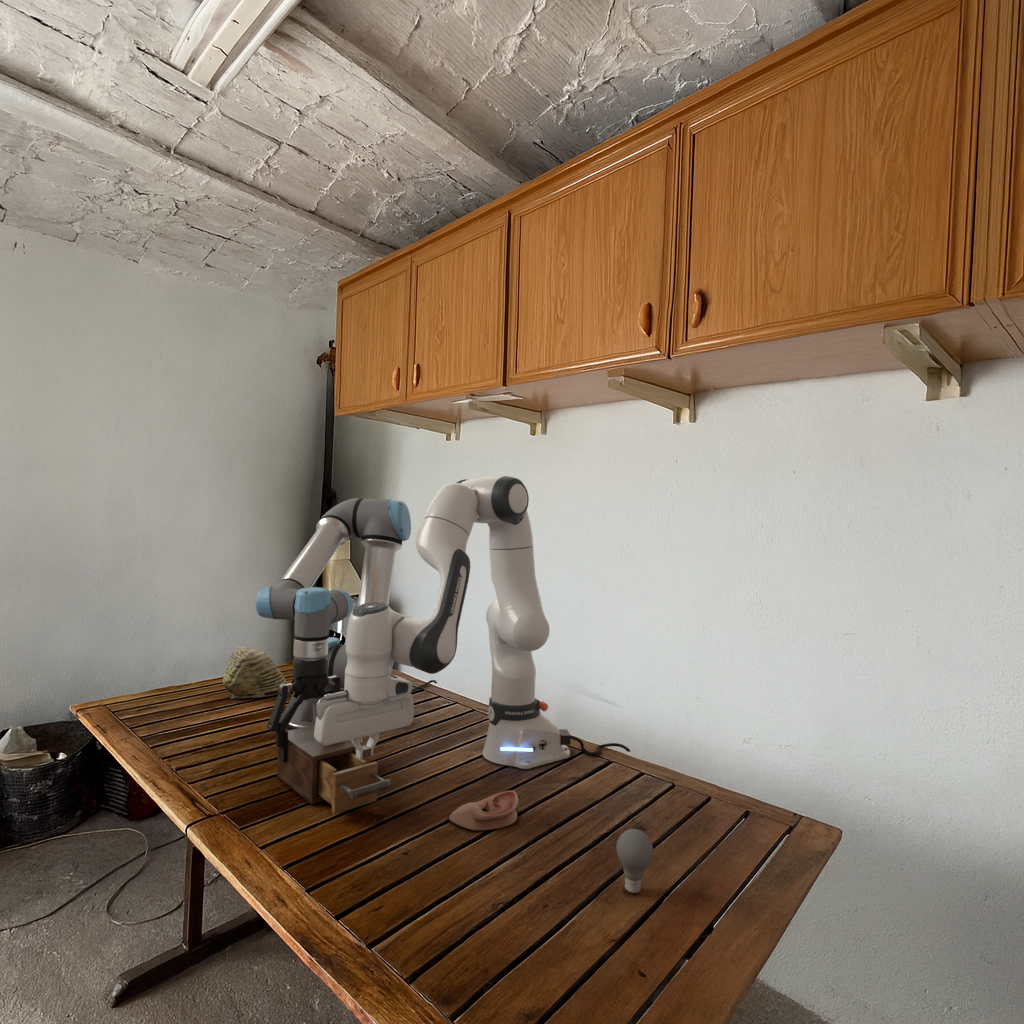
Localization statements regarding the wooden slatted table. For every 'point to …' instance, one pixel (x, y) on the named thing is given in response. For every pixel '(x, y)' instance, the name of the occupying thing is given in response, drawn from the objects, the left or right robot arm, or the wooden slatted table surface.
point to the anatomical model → (487, 812)
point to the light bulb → (634, 857)
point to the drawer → (348, 781)
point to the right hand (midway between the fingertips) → (364, 756)
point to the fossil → (251, 674)
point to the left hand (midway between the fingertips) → (307, 754)
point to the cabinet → (307, 761)
